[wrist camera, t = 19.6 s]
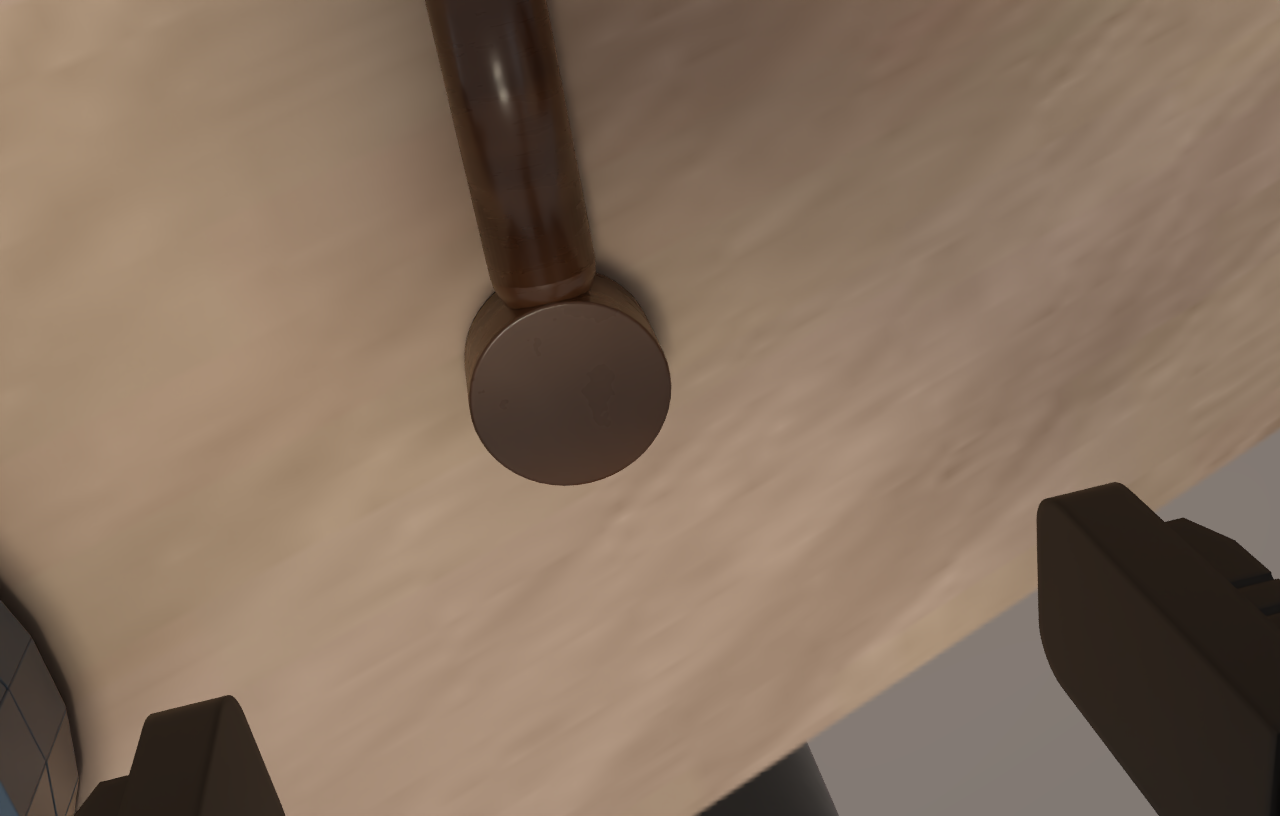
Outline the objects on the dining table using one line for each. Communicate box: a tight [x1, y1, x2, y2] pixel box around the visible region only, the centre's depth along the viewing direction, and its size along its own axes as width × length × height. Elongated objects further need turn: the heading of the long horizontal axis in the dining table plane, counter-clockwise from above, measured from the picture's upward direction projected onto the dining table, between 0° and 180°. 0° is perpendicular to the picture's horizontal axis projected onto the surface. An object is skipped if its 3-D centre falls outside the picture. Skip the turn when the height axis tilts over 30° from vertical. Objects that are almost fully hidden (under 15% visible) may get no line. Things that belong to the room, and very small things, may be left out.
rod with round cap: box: [425, 0, 671, 486], centre depth 29 cm, size 16×5×3 cm, turn 9°
